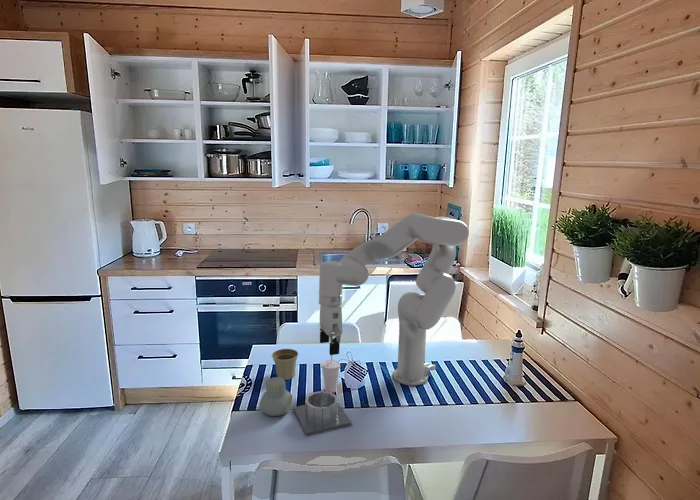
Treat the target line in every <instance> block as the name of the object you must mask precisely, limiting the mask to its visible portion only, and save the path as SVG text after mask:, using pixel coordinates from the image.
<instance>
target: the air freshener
mask: <svg viewBox="0 0 700 500" xmlns="http://www.w3.org/2000/svg"><path fill="white" fill-rule="evenodd" d="M265 384H266V385H265V386H266V387H265V392H263V395H262V396H261V398H260V402H259V410H260V411H261V412H262V413H263V414H265V415H267V416H270V417H278V416H279V417H280V416H282V415H285V414H288V412H289V410H290V409H291V406H292V402H293V394H292V393H291V392H290V391H289V390H287V389H286V380H285V379H283V378H280V377H277V376H275V377H271V378H269V379H267V381H266V383H265Z"/></svg>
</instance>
